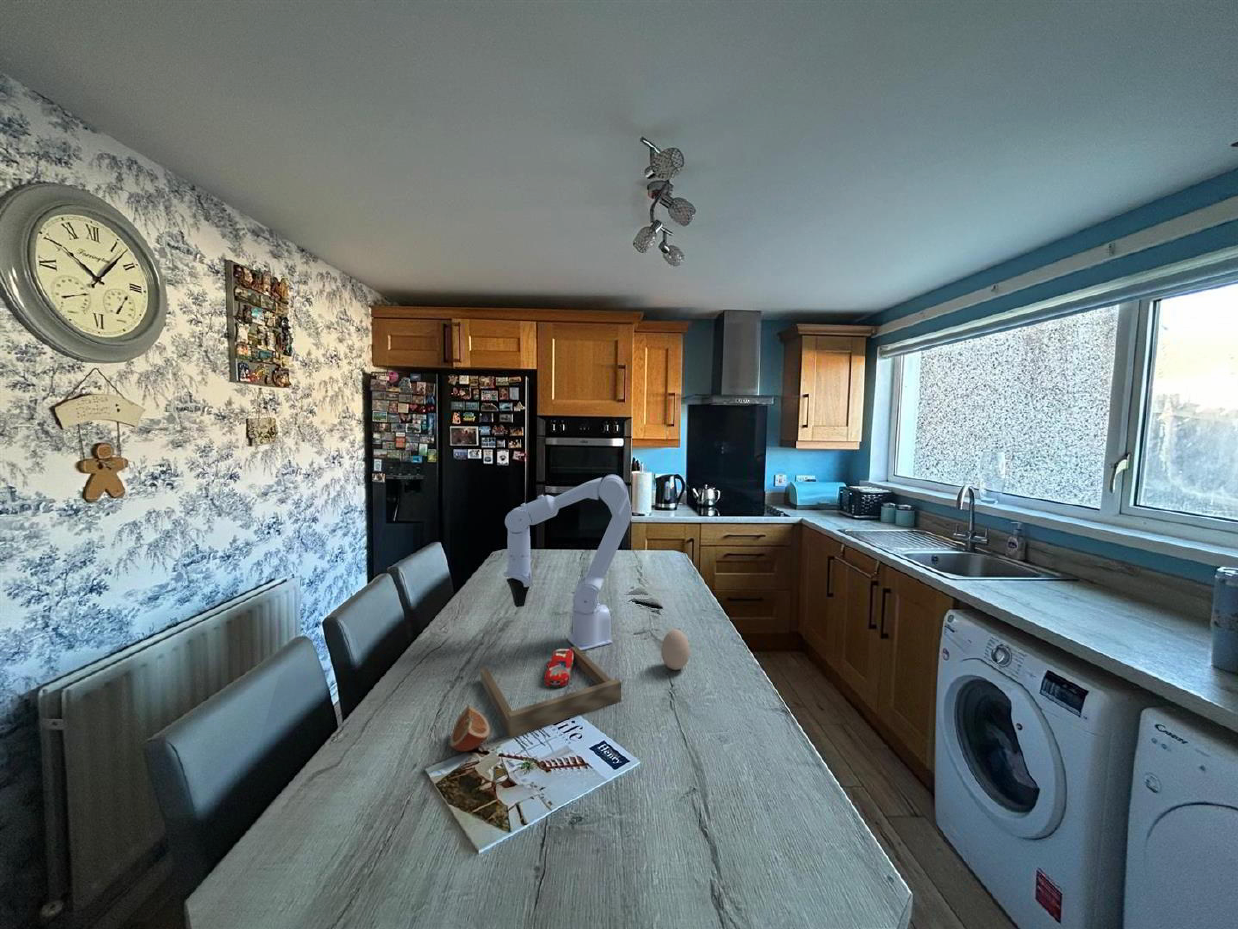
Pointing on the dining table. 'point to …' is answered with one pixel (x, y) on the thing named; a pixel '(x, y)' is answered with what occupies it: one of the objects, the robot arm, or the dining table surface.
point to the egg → (675, 650)
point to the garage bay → (555, 700)
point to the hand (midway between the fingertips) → (519, 605)
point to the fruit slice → (469, 730)
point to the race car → (559, 668)
